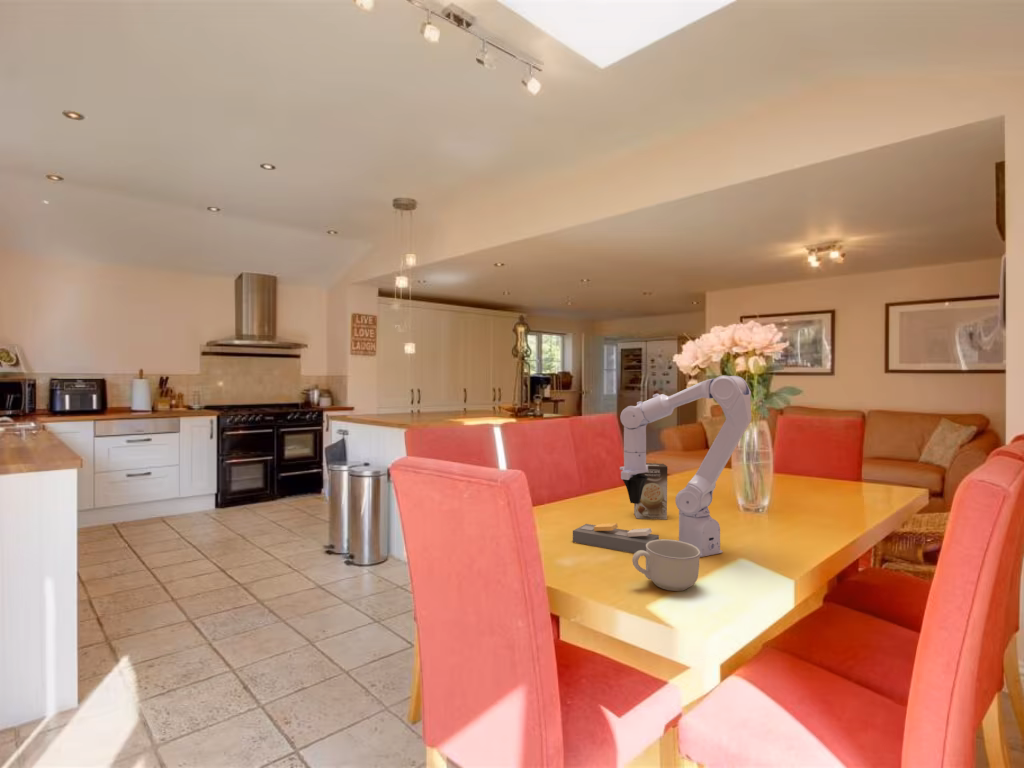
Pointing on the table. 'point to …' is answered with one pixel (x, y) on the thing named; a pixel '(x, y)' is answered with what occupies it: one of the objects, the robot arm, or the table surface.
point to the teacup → (670, 563)
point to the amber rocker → (605, 527)
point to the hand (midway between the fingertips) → (635, 502)
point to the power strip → (611, 539)
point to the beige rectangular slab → (639, 532)
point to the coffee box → (653, 494)
